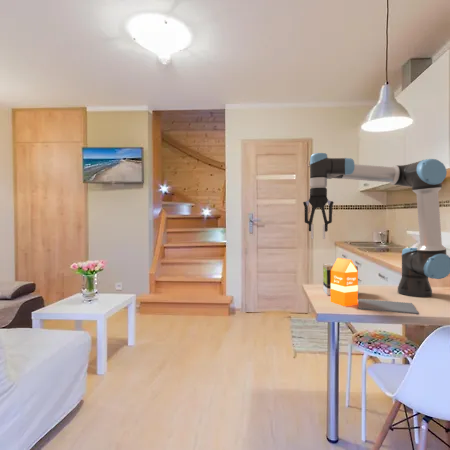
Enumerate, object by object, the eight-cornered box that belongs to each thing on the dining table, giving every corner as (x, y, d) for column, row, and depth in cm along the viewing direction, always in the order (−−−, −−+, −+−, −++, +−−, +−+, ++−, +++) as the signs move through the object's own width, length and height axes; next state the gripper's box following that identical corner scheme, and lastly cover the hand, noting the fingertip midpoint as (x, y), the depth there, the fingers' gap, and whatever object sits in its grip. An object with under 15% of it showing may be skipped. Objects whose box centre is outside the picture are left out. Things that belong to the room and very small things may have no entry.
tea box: (352, 291, 174) (352, 263, 174) (358, 296, 164) (358, 266, 164) (322, 291, 175) (322, 262, 175) (326, 295, 165) (326, 265, 165)
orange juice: (344, 306, 145) (344, 260, 145) (330, 301, 154) (330, 258, 153) (358, 304, 149) (358, 259, 148) (343, 299, 157) (343, 257, 156)
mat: (411, 304, 148) (411, 303, 148) (418, 314, 134) (418, 312, 134) (358, 300, 156) (358, 298, 156) (358, 308, 141) (358, 307, 141)
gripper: (339, 187, 154) (338, 238, 155) (300, 188, 161) (299, 237, 161) (338, 186, 147) (337, 239, 148) (297, 187, 154) (297, 238, 154)
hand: (318, 238), depth 154 cm, fingers open, 4 cm apart
